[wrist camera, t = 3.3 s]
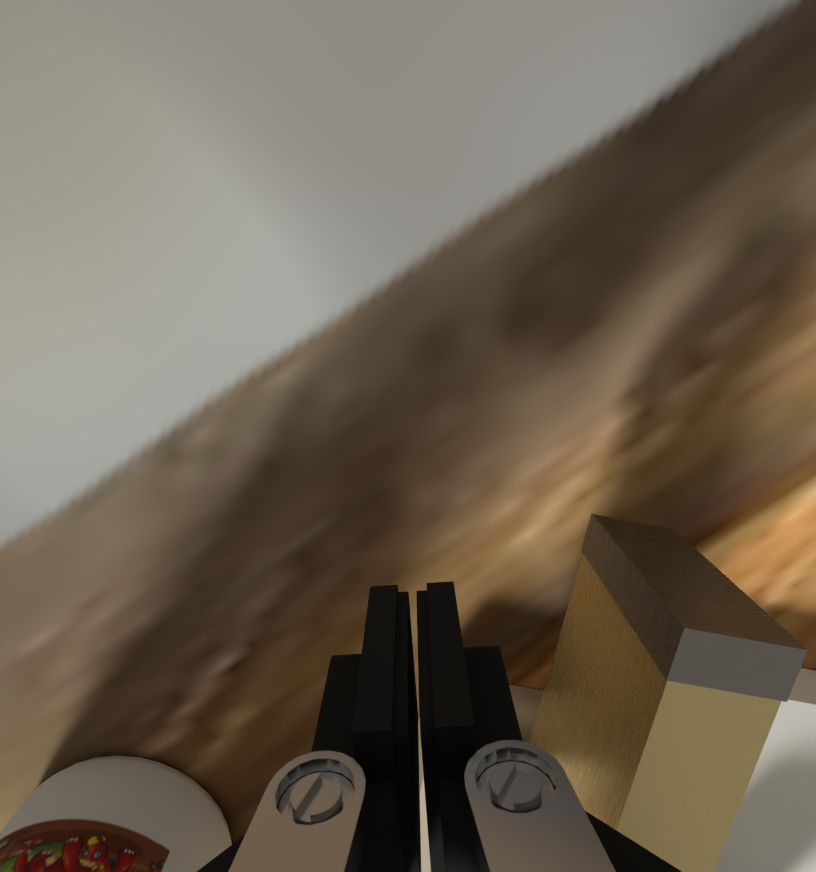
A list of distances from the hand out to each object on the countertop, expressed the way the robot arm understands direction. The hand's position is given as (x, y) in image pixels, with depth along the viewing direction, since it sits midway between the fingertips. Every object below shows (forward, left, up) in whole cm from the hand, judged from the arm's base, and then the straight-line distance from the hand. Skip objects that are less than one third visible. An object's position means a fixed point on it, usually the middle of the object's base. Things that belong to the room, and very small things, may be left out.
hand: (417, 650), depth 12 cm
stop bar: (-5, +4, -3) cm, 7 cm away
